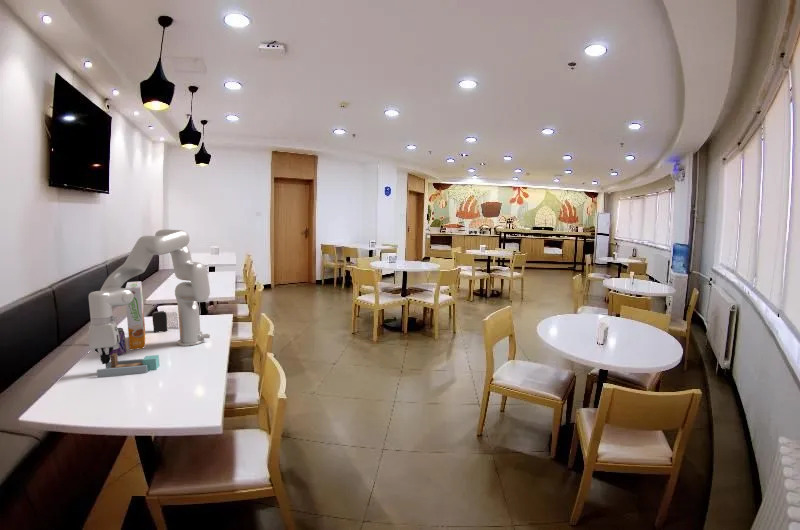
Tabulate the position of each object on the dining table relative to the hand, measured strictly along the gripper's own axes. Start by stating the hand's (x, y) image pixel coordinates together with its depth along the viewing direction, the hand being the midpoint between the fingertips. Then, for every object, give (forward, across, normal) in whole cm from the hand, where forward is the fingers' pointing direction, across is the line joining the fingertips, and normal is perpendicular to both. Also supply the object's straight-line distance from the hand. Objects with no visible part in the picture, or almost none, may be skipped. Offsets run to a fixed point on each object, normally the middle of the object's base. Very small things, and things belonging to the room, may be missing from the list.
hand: (105, 362), depth 177 cm
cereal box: (+4, 0, -41) cm, 41 cm away
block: (+4, -17, 0) cm, 17 cm away
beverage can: (+4, +4, -24) cm, 25 cm away
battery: (+4, -6, -60) cm, 60 cm away
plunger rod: (+4, -8, 0) cm, 9 cm away
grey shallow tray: (+4, -7, 0) cm, 8 cm away
